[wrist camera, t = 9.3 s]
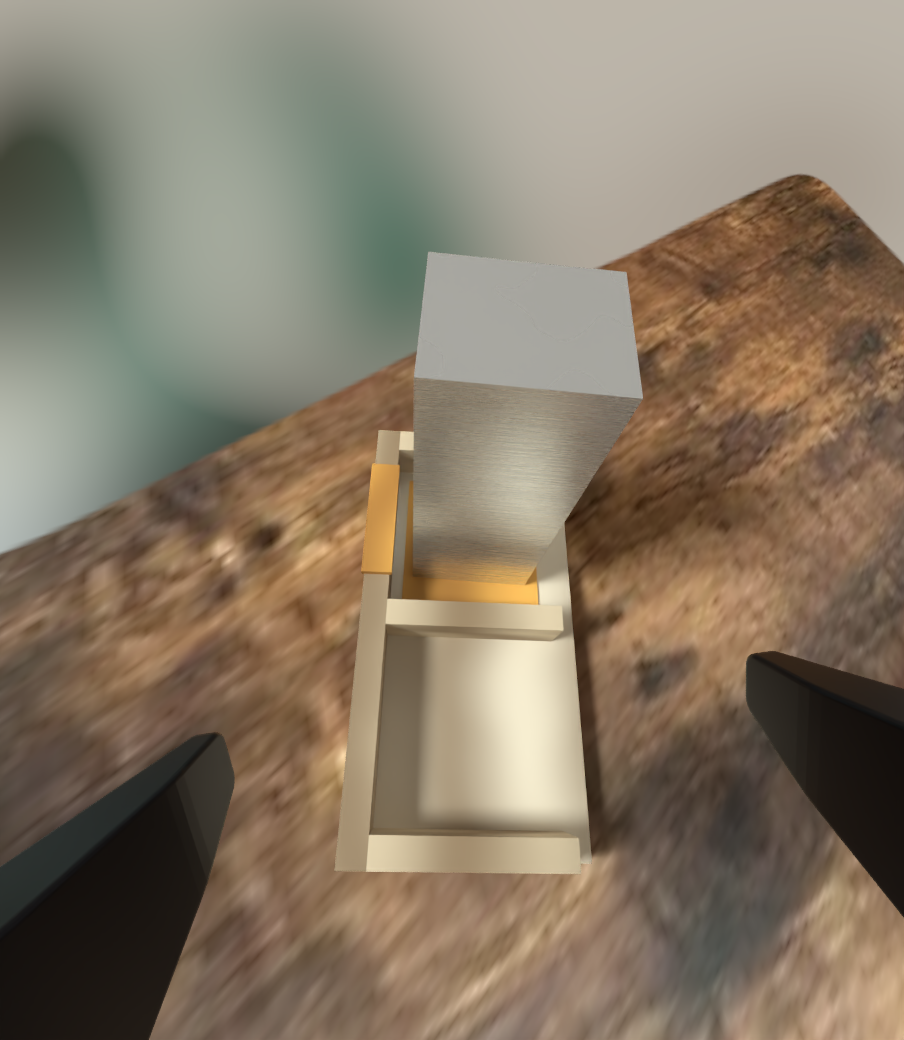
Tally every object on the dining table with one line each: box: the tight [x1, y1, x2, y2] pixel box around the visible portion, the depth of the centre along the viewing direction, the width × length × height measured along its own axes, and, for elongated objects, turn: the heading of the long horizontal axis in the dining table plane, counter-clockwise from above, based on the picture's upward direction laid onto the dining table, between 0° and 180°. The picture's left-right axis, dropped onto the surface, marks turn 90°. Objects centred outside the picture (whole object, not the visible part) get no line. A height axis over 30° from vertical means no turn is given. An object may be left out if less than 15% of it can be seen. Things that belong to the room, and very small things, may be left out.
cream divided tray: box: [335, 430, 592, 874], centre depth 21 cm, size 9×17×3 cm, turn 179°
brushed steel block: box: [413, 252, 643, 585], centre depth 18 cm, size 4×5×13 cm
